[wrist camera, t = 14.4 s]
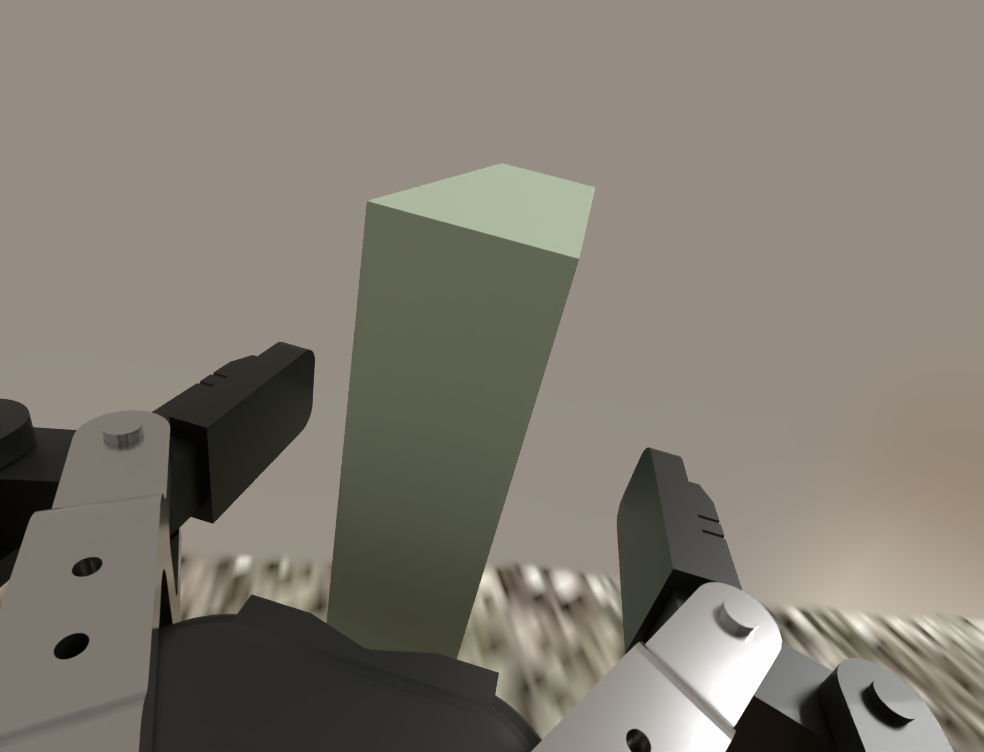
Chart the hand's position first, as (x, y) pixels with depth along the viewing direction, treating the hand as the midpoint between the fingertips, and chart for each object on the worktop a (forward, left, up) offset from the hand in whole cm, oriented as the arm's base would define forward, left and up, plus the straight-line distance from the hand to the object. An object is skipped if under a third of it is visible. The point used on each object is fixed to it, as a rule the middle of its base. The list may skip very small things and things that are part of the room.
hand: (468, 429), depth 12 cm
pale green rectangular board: (0, 0, -14) cm, 15 cm away
